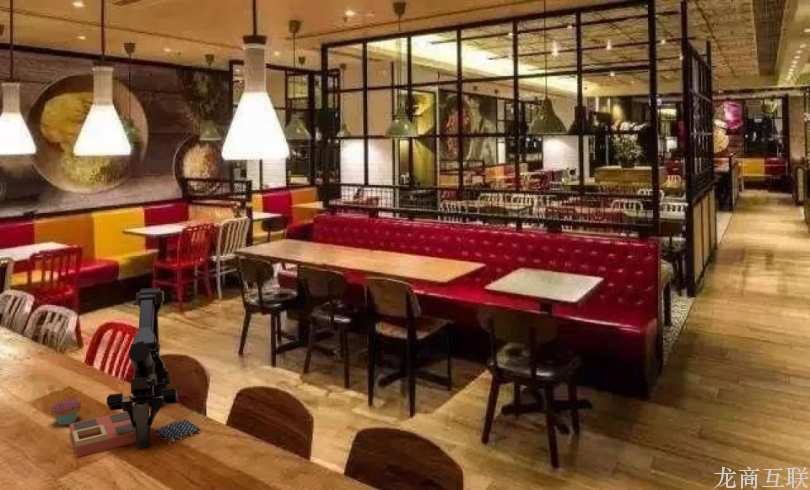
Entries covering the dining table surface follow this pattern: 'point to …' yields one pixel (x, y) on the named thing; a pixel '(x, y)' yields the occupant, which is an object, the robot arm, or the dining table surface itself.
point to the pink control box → (102, 433)
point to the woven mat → (177, 431)
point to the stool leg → (142, 424)
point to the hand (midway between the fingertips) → (142, 426)
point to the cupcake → (66, 410)
